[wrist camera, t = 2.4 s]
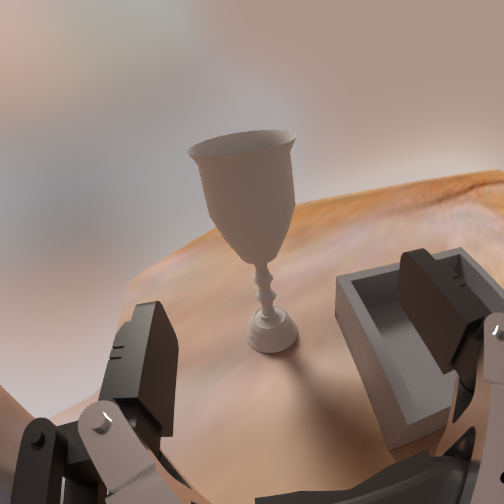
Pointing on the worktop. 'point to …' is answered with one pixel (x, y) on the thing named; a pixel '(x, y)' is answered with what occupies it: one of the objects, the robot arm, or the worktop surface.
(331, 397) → the worktop surface
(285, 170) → the chalice
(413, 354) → the box
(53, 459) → the robot arm
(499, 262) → the worktop surface
